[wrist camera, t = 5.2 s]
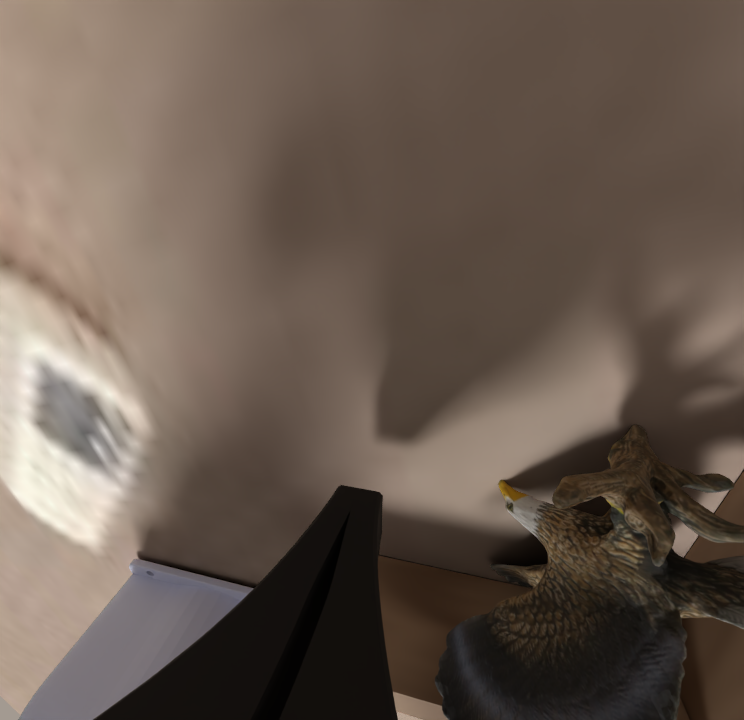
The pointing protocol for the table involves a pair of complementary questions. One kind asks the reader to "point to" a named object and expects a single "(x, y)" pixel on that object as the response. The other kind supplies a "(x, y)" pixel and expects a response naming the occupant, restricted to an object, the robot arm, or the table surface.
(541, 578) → the eagle figurine
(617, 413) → the table surface
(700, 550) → the walnut corner bracket
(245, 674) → the robot arm
